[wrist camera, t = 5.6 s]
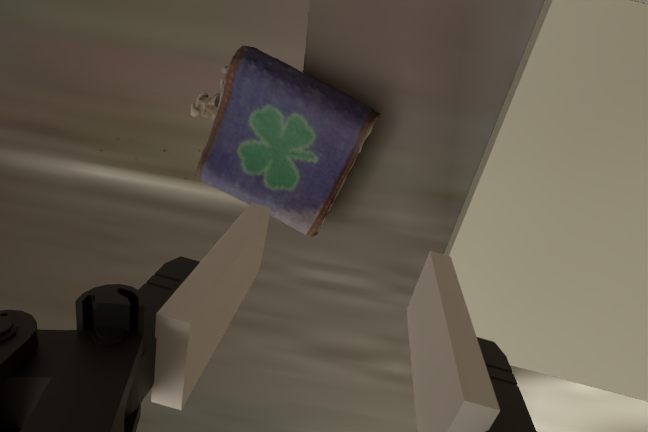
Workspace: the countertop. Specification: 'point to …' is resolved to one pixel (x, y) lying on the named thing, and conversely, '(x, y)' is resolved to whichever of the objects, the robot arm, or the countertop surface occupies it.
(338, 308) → the countertop surface
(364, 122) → the flask
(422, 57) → the countertop surface
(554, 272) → the beige flat panel
